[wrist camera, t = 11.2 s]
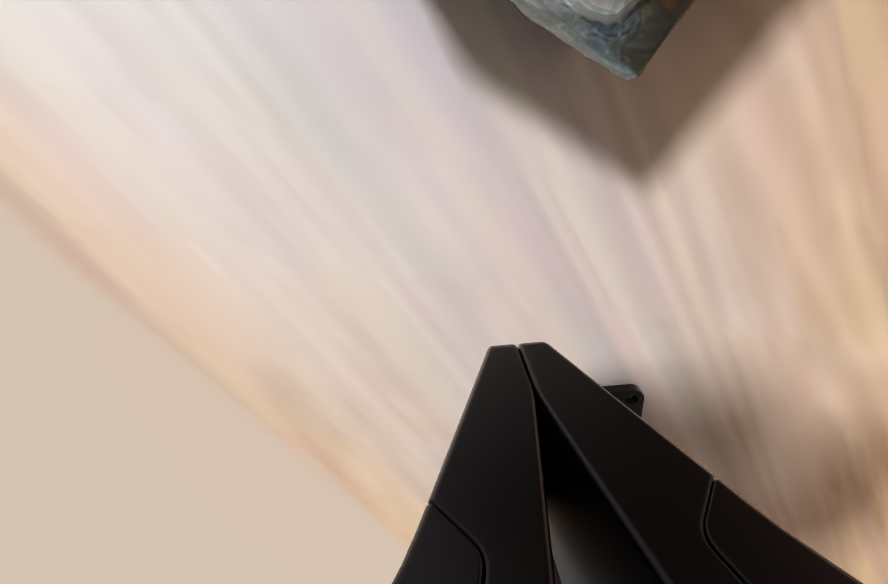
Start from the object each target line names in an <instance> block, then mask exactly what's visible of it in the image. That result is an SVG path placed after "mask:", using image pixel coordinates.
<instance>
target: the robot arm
mask: <svg viewBox="0 0 888 584" xmlns="http://www.w3.org/2000/svg"><path fill="white" fill-rule="evenodd" d="M630 395H634V396H632V397H630V398H627V397H629V396H630ZM643 401H644V396H643V394H642V392H641V390H640V388H639V387H638V386H636V385H633V384H627V385H615V386H604V387H602V386H600V385H599V384H598V383H596V382H595V381H594V380H593V379H591V378H590V377H589V376H588V375H586V374H585V373H584V372H583V371H581V370H580V369H579V368H578V367H576V366H575V365H574V364H573V363H571V362H570V361H569V360H567V359H566V358H565V357H564V356H562V355H561V354H560V353H559V352H557V351H556V350H555V349H554V348H552V347H551V346H550V345H549V344H547V343H545V342H534V343H523V344H520V345H519V346H518V348H517V346H515V345H512V344H511V345H499V346H491V347H489V349H488V350H487V353H486V355H485V358H484V361H483V363H482V366H481V368H480V371H479V373H478V376H477V379H476V381H475V384H474V386H473V389H472V391H471V394H470V396H469V399H468V402H467V404H466V407H465V409H464V412H463V414H462V417H461V419H460V422H459V425H458V427H457V430H456V432H455V435H454V437H453V440H452V443H451V445H450V448H449V450H448V453H447V455H446V458H445V460H444V463H443V466H442V468H441V471H440V473H439V476H438V478H437V481H436V484H435V486H434V489H433V491H432V494H431V496H430V499H429V502H428V504H429V505H428V506H426V508H425V511H424V513H423V516H422V518H421V521H420V524H419V526H418V529H417V531H416V533H415V536H414V538H413V540H412V542H411V545H410V547H409V549H408V552H407V554H406V556H405V558H404V561H403V563H402V565H401V567H400V569H399V571H398V573H397V575H396V577H395V579H394V581H393V583H392V584H863V583H862V582H860V581H859V580H857V579H856V578H854V577H853V576H851V575H850V574H848V573H847V572H845V571H844V570H842V569H841V568H839V567H838V566H836V565H835V564H833V563H832V562H830V561H829V560H827V559H826V558H824V557H823V556H822V555H820V554H819V553H817V552H816V551H814V550H813V549H811V548H810V547H809V546H807V545H806V544H804V543H803V542H801V541H800V540H799V539H797V538H796V537H794V536H793V535H791V534H790V533H788V532H787V531H786V530H784V529H783V528H781V527H780V526H779V525H777V524H776V523H775V522H773V521H772V520H771V519H770V518H768V517H767V516H766V515H764V514H763V513H762V512H760V511H759V510H758V509H756V508H755V507H754V506H752V505H751V504H750V503H748V502H747V501H746V500H744V499H743V498H742V497H741V496H739V495H738V494H737V493H736V492H734V491H733V490H732V489H730V488H729V487H728V486H727V485H725V484H724V483H723V482H722V481H720V480H718V479H716V480H714V476H713V475H712V474H711V473H710V472H709V471H707V470H706V469H705V468H704V467H702V466H701V465H700V464H699V463H697V462H696V461H695V460H694V459H692V458H691V457H690V456H689V455H687V454H686V453H685V452H683V451H682V450H681V449H680V448H678V447H677V446H676V445H675V444H673V443H672V442H671V441H670V440H668V439H667V438H666V437H665V436H663V435H662V434H661V433H660V432H658V431H657V430H656V429H654V428H653V427H652V426H651V425H649V424H648V423H647V422H646V421H644V420H643V419H642V418H641V414H642V408H643Z"/></svg>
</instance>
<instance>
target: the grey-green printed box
mask: <svg viewBox="0 0 888 584" xmlns="http://www.w3.org/2000/svg"><path fill="white" fill-rule="evenodd" d="M510 1H511V2H513V3H514V4H515V5H516V6H517V7H518V9H519V10H520V11H521V12H522V13H523V14H524V15H525V16H527V17H528V18H529V19H530V20H532V21H533V22H535V23H537V24H538V25H540V26H542V27H543V28H545V29H547V30H548V31H549V32H551V33H552V34H554V35H555V36H556V37H558V38H559V39H560V40H562V41H563V42H565V43H566V44H568V45H570V46H571V47H573V48H575V49H576V50H578V51H579V52H580V53H581V54H583V55H584V56H585V57H586V58H589V59H591V60H593V61H596V62H598V63H599V64H600V65H602V66H603V67H604V68H606V69H607V70H609V71H610V72H611V73H613V74H614V75H616V76H619V77H621V78H623V79H626V80H631V79H634V78H636V77H638V76H640V74H641V73H642V71H643V69H644V68H645V66H646V65H647V63H648V62H649V60H650V59H651V58H652V56H653V55H654V53H655V52H656V51H657V49H658V48H659V47H660V45H661V44H662V42H663V41H664V40H665V38H666V37H667V36H668V34H669V33H670V32H671V30H672V29H673V28H674V27H675V25H676V24H677V23H678V22H679V20H680V19H681V18H682V16H683V15H684V14H685V13H686V11H687V10H688V9H689V8H690V6H691V5H692V4H693V3H694V1H695V0H510Z"/></svg>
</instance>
